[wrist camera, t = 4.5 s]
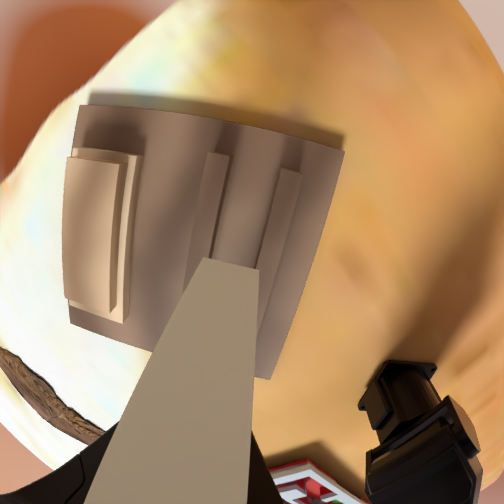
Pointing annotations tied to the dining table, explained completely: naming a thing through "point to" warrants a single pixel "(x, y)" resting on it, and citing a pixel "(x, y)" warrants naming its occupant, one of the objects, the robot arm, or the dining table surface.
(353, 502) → the maze game
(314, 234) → the walnut rack
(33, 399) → the wooden fragment
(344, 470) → the dining table surface
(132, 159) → the lower oak offcut
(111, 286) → the upper oak offcut
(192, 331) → the taupe rectangular block
